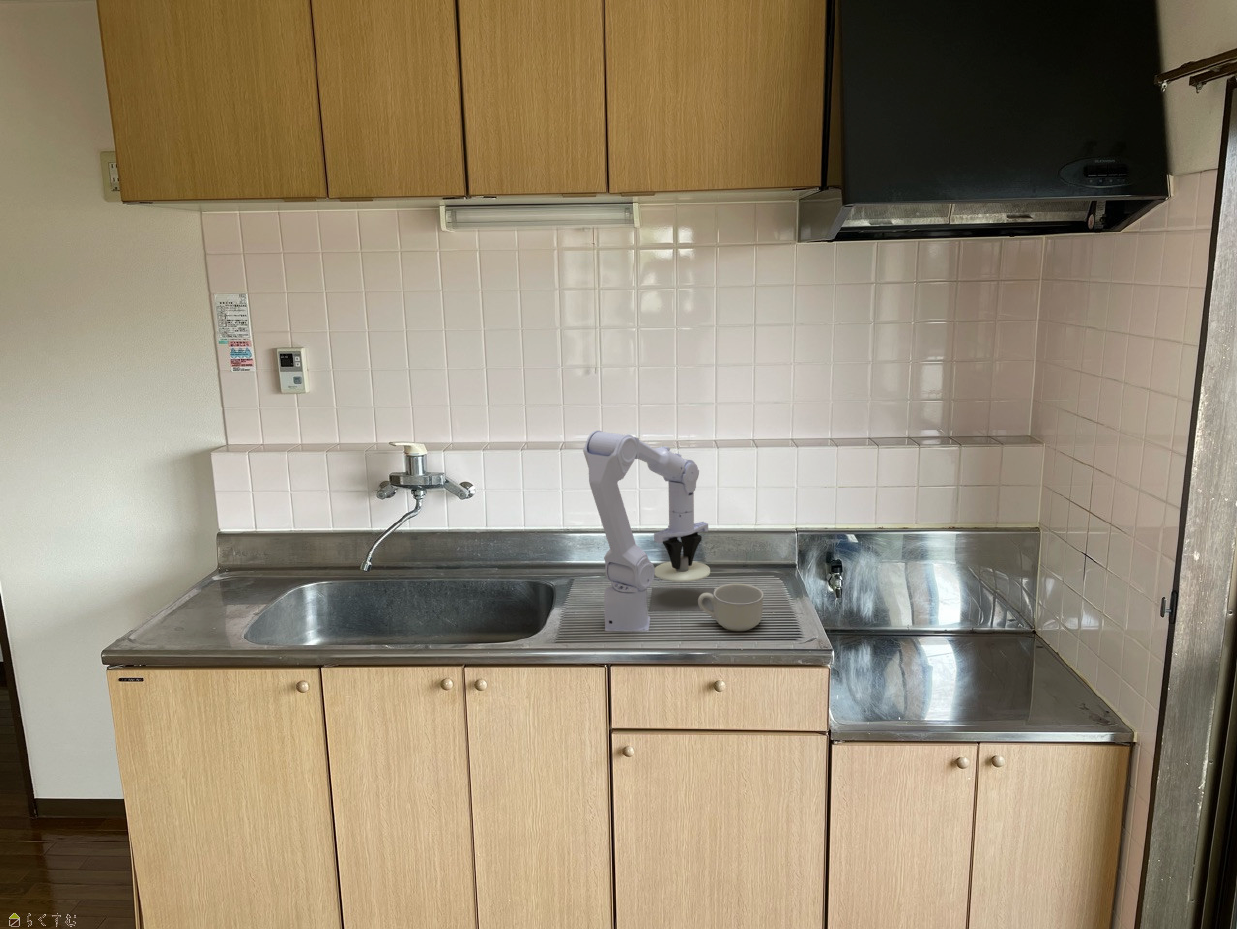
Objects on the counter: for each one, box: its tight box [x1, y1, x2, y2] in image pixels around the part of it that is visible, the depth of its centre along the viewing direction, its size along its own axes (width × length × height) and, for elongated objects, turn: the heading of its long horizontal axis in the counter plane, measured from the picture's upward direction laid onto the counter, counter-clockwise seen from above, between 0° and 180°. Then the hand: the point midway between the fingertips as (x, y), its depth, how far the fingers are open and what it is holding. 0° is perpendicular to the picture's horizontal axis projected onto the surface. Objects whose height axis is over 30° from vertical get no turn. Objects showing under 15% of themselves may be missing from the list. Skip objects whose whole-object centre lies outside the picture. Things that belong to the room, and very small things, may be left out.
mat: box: [648, 587, 715, 612], centre depth 215 cm, size 15×15×1 cm
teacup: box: [698, 583, 765, 632], centre depth 198 cm, size 14×11×8 cm
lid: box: [654, 554, 711, 583], centre depth 213 cm, size 13×13×4 cm
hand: (682, 566), depth 213 cm, fingers closed on lid, 3 cm apart
